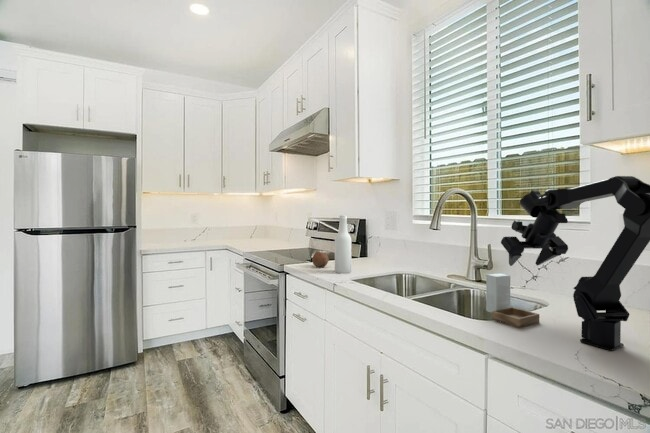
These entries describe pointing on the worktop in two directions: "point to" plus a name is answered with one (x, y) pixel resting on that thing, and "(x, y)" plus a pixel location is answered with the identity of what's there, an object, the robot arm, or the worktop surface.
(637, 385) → the worktop surface
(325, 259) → the onion
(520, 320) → the walnut tray
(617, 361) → the worktop surface
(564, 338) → the worktop surface
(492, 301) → the skincare box
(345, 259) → the alcohol
